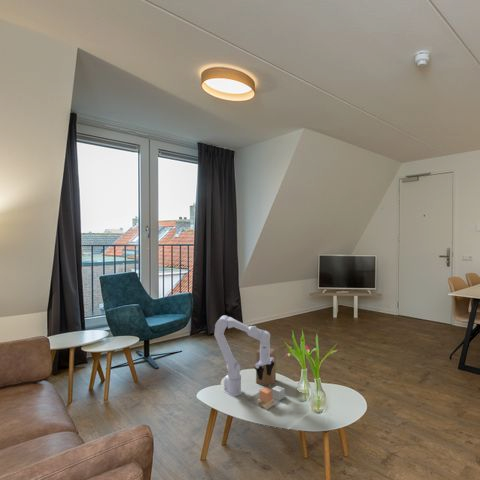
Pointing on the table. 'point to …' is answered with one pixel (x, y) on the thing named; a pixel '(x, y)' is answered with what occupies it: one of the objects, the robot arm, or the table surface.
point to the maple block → (266, 404)
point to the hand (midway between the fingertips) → (264, 377)
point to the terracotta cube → (265, 394)
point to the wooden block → (266, 378)
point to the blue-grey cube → (278, 393)
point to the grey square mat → (254, 400)
